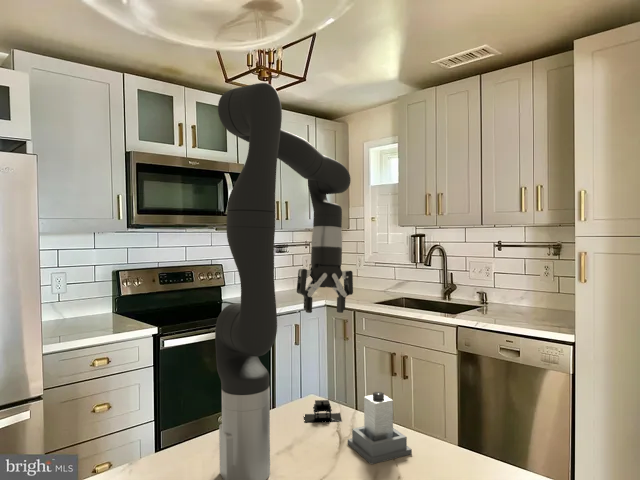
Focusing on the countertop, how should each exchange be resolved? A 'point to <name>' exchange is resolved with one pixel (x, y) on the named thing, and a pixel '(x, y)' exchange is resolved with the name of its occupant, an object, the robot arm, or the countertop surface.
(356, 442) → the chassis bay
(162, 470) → the countertop surface
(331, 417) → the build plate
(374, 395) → the knobbed grey block
